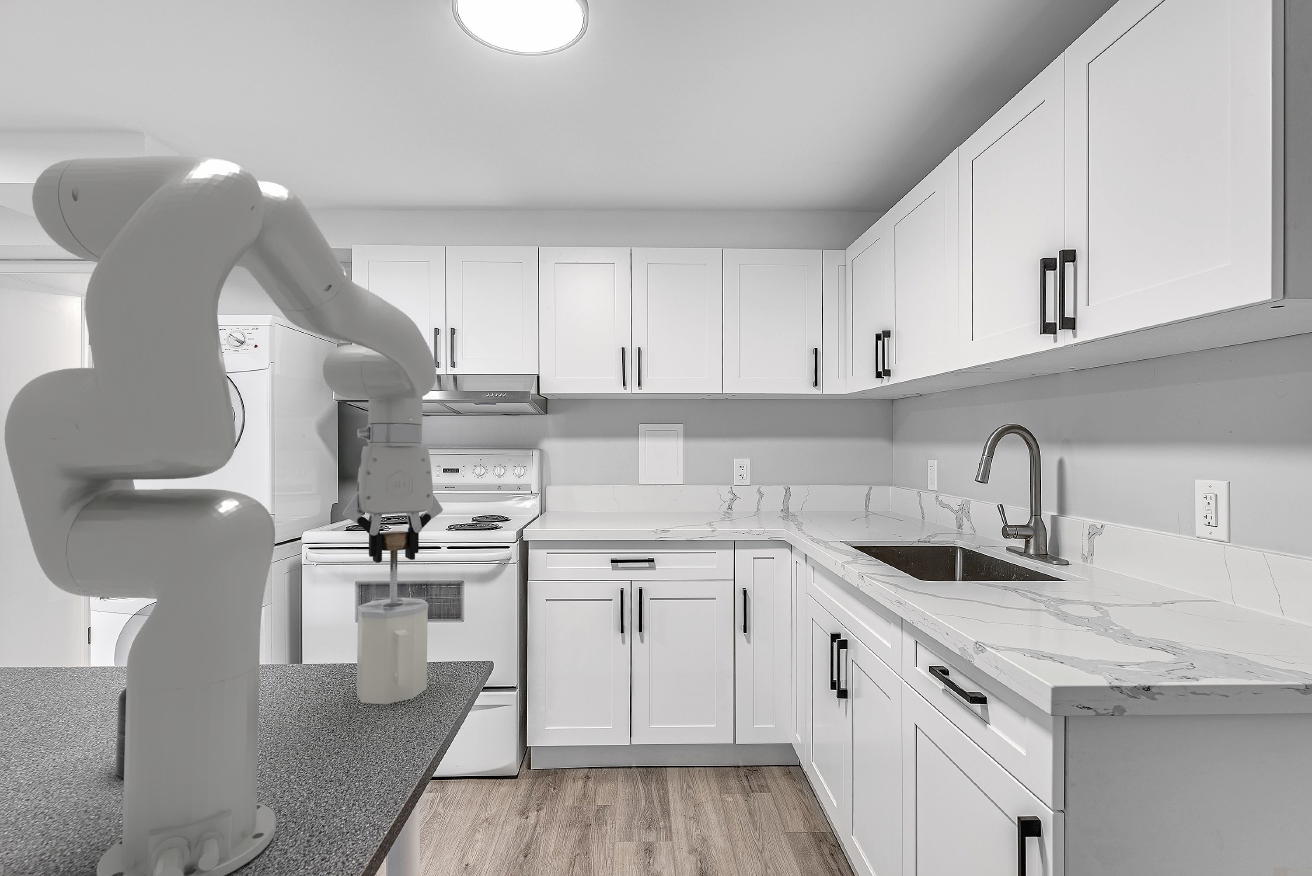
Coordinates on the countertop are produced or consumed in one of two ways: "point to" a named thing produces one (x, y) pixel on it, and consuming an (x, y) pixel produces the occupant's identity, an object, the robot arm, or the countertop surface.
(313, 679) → the countertop surface
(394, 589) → the plunger
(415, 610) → the press pot
